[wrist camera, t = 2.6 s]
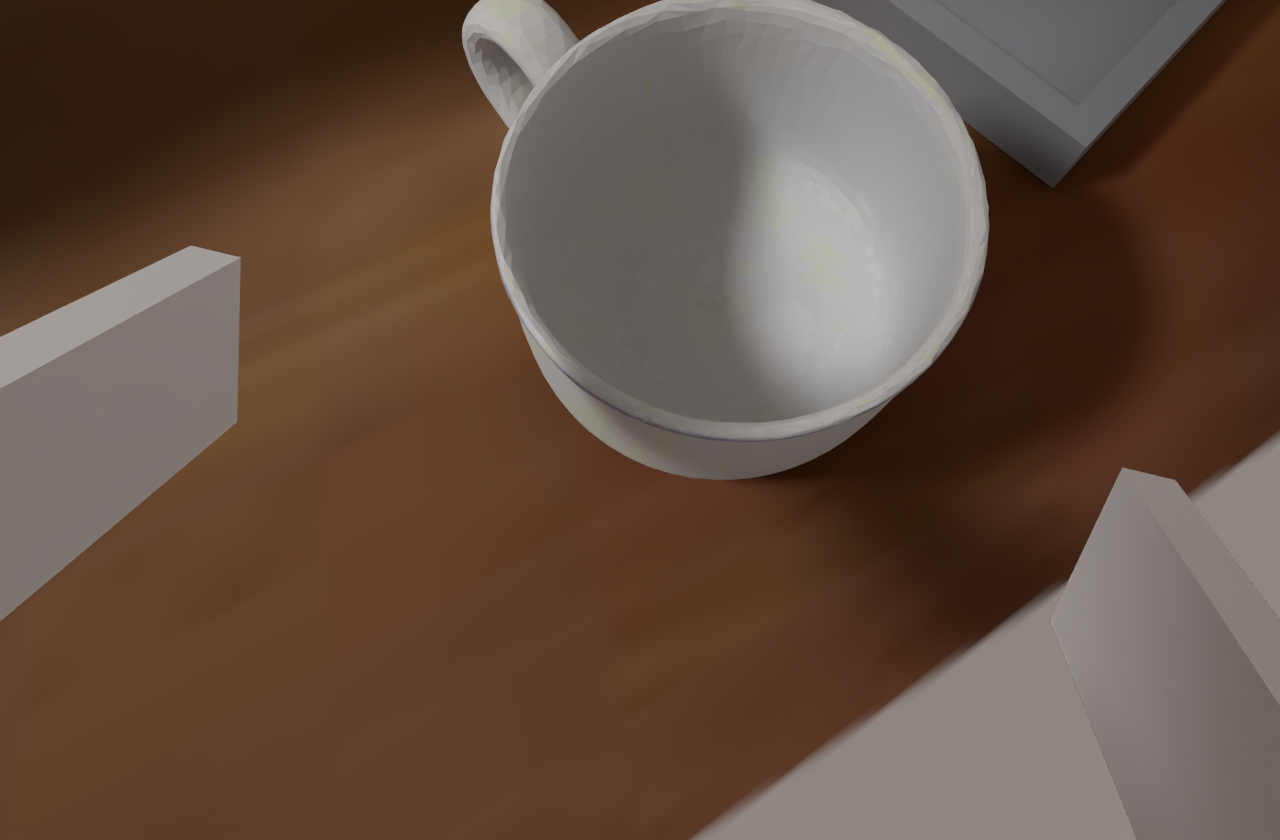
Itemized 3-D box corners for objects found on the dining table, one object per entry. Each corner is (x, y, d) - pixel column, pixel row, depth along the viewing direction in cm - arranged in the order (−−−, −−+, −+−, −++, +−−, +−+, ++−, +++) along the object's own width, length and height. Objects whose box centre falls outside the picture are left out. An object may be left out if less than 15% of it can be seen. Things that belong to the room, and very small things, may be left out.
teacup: (964, 383, 29) (1098, 249, 21) (659, 599, 26) (686, 536, 19) (681, 48, 32) (708, -172, 24) (387, 213, 30) (315, 26, 22)
